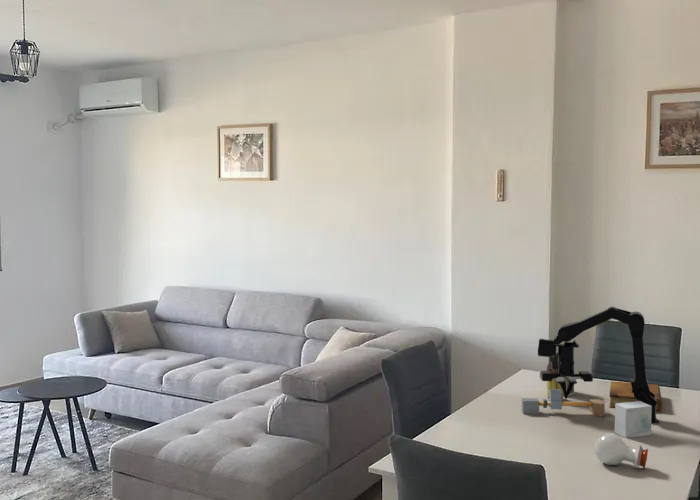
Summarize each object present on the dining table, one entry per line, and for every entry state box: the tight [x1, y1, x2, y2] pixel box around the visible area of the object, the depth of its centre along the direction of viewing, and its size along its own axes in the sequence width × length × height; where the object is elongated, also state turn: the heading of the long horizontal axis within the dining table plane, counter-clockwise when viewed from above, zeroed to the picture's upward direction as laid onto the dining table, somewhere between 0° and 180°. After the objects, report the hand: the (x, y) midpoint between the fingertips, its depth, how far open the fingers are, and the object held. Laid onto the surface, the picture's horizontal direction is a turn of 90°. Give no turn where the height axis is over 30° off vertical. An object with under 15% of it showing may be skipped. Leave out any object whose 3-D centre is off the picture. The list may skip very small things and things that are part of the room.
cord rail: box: [521, 397, 606, 417], centre depth 260 cm, size 30×6×5 cm, turn 84°
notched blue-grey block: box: [548, 389, 563, 410], centre depth 261 cm, size 4×3×7 cm
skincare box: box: [613, 401, 652, 439], centre depth 235 cm, size 10×6×10 cm, turn 105°
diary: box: [609, 380, 663, 413], centre depth 273 cm, size 23×19×6 cm
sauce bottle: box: [546, 350, 564, 401], centre depth 279 cm, size 7×6×20 cm
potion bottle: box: [593, 432, 649, 470], centre depth 206 cm, size 9×10×15 cm
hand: (565, 398), depth 260 cm, fingers closed
